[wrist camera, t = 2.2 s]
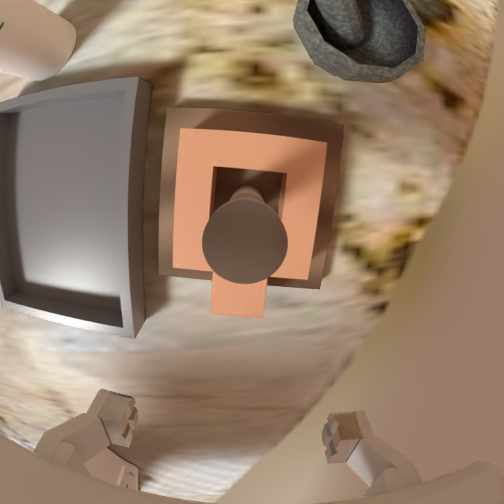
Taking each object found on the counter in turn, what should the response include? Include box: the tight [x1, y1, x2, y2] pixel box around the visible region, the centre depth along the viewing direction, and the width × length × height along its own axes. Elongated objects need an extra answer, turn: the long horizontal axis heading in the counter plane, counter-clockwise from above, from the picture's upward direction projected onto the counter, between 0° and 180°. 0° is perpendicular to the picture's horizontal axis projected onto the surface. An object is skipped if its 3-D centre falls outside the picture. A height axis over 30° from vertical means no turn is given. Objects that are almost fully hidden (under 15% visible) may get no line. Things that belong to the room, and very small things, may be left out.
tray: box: [0, 76, 153, 339], centre depth 23 cm, size 22×18×4 cm
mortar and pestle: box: [293, 0, 426, 83], centre depth 14 cm, size 11×9×12 cm
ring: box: [173, 128, 327, 318], centre depth 22 cm, size 14×10×3 cm
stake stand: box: [159, 108, 344, 289], centre depth 18 cm, size 14×14×14 cm
